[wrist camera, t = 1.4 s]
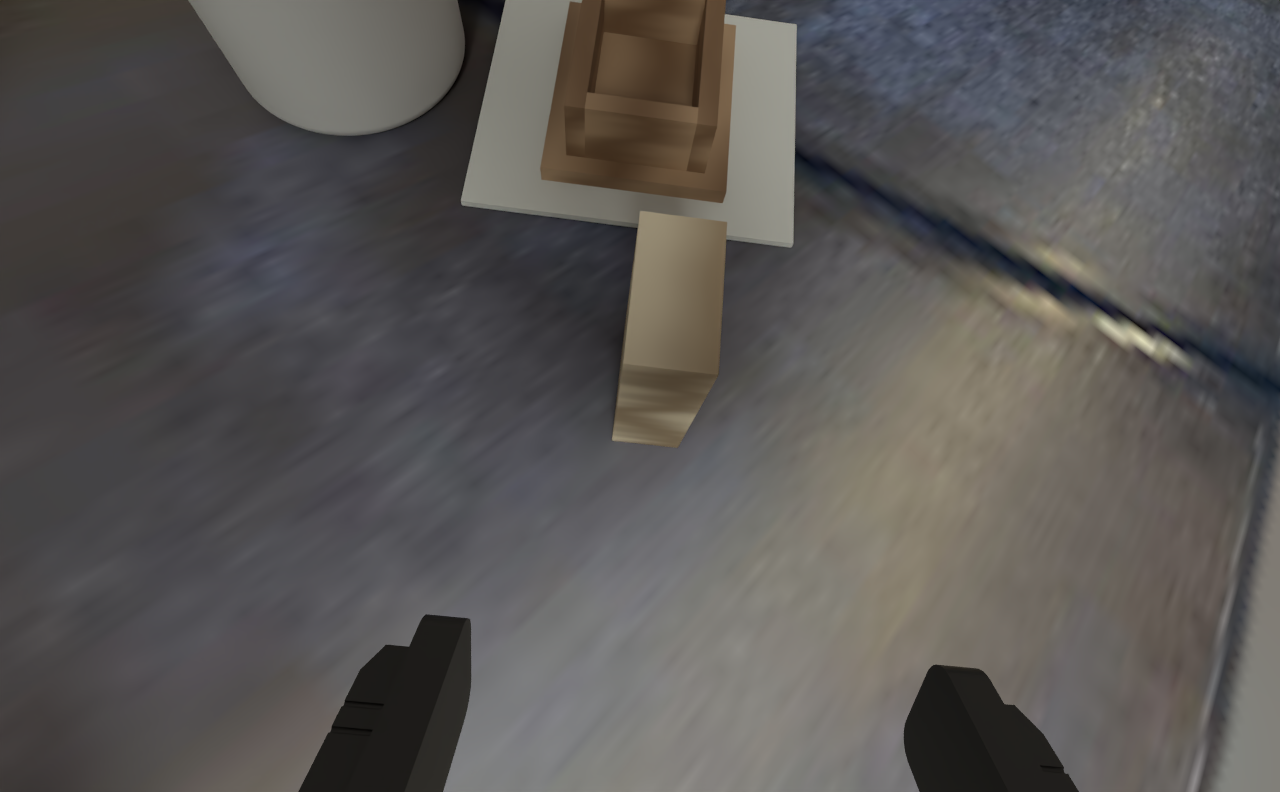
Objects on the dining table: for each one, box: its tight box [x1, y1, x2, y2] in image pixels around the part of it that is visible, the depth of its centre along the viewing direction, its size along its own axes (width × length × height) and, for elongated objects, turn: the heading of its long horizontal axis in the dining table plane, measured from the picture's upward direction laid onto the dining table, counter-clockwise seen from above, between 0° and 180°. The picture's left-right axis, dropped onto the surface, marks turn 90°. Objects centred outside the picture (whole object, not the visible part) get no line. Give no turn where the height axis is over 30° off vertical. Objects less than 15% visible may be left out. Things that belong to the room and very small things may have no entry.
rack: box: [540, 0, 736, 203], centre depth 34 cm, size 10×12×4 cm
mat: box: [461, 0, 797, 248], centre depth 36 cm, size 18×16×1 cm
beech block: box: [612, 211, 727, 448], centre depth 26 cm, size 3×6×10 cm, turn 175°
